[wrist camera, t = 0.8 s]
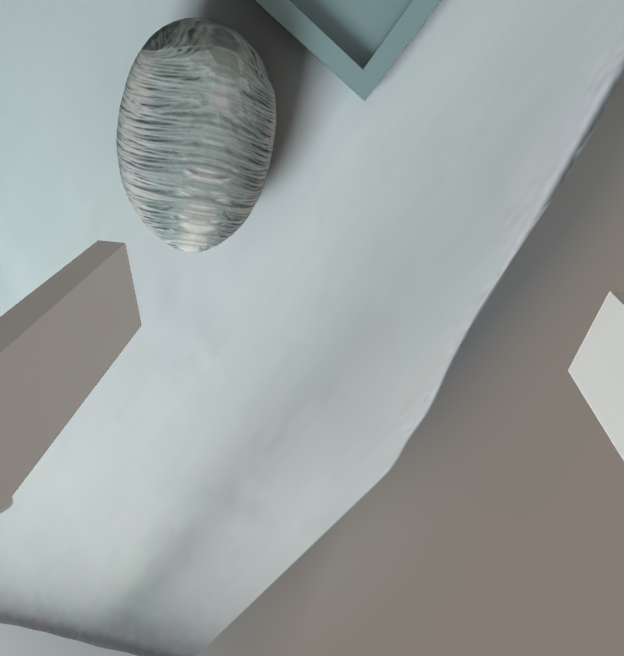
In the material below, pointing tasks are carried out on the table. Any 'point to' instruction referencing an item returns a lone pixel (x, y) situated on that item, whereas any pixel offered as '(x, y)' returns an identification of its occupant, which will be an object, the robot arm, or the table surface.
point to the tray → (353, 33)
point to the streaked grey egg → (196, 133)
